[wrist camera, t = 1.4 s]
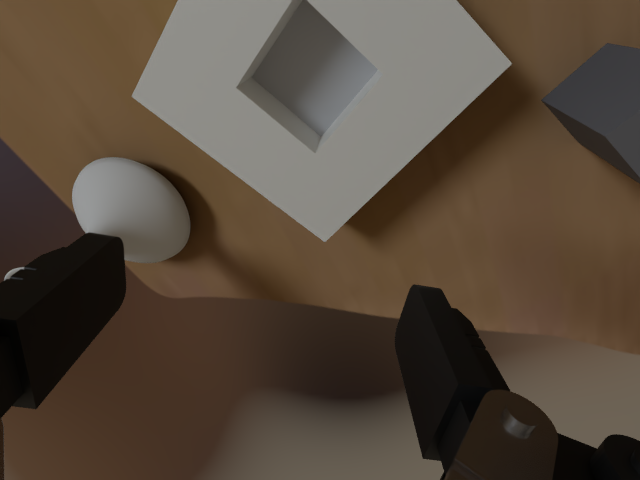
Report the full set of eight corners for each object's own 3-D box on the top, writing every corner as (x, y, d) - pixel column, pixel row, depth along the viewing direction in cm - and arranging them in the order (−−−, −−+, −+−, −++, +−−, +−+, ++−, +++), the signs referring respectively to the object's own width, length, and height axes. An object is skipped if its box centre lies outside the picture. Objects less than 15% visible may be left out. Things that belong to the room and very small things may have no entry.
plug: (607, 43, 26) (706, 60, 18) (644, 92, 27) (751, 127, 19) (541, 100, 28) (604, 136, 20) (578, 142, 29) (651, 191, 22)
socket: (294, -165, 22) (276, -205, 17) (489, 53, 27) (512, 63, 22) (164, 83, 30) (131, 96, 26) (329, 213, 35) (324, 242, 31)
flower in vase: (153, 133, 33) (-221, 363, 12) (217, 236, 38) (36, 518, 17) (49, 178, 37) (-373, 412, 16) (121, 266, 42) (-123, 527, 21)
